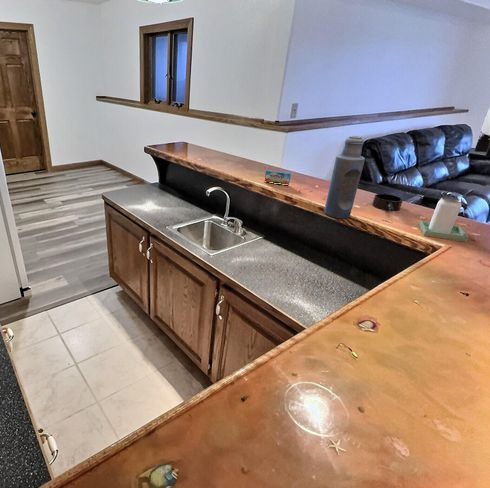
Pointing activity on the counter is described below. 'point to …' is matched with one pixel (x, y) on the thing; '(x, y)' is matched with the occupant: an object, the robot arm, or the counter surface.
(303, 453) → the counter surface
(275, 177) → the teal printed box
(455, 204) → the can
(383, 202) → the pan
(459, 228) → the tray
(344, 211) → the bottle
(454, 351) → the counter surface
